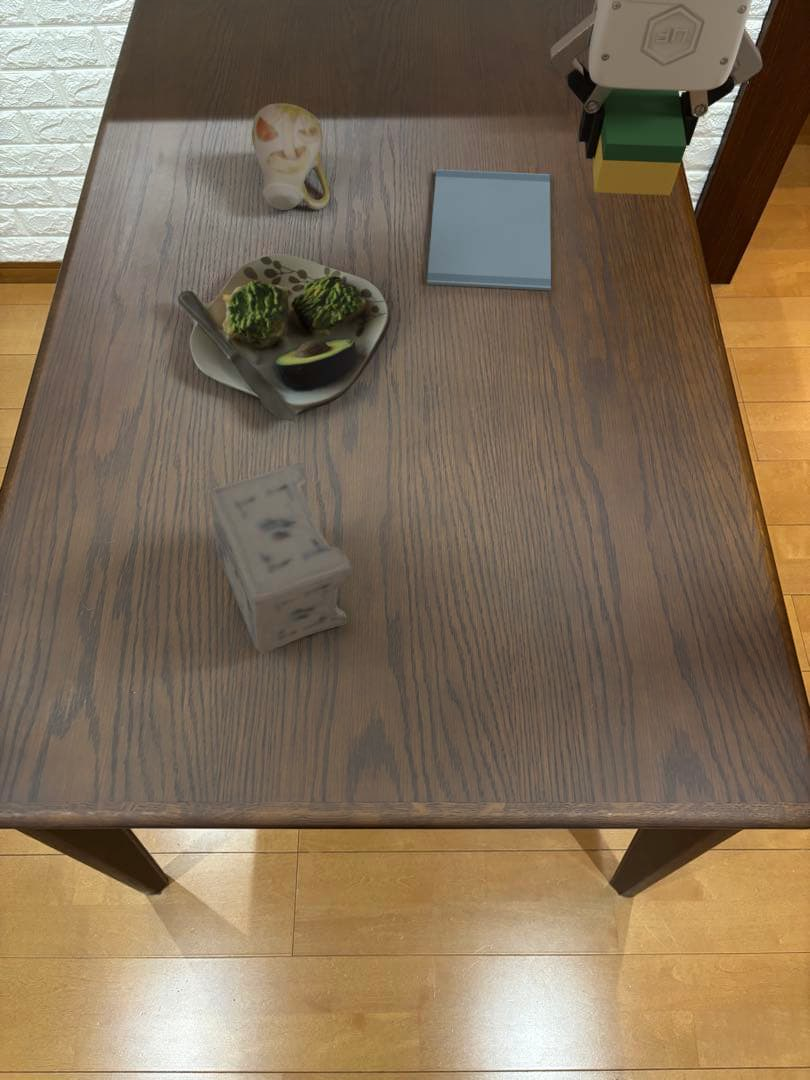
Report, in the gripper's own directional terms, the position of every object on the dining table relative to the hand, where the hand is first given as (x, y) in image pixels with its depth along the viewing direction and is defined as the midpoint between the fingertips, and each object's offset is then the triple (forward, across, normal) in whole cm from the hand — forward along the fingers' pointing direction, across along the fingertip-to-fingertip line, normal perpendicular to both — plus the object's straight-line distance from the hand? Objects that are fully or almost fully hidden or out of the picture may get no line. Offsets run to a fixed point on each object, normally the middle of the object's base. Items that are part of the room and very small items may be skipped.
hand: (630, 147), depth 67 cm
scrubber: (+1, 0, 0) cm, 1 cm away
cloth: (+15, -10, +6) cm, 19 cm away
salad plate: (+15, -28, -9) cm, 33 cm away
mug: (+15, -31, +12) cm, 37 cm away
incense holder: (+15, -26, -34) cm, 45 cm away
